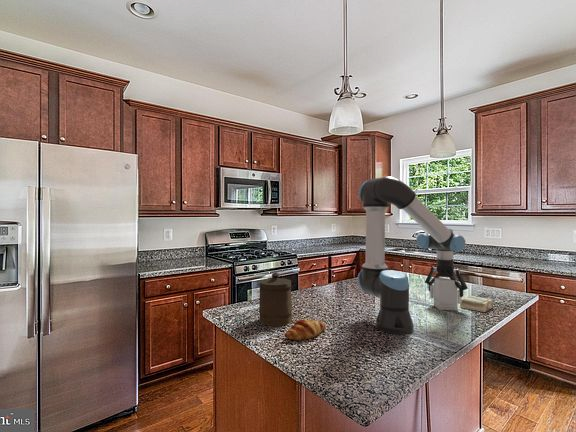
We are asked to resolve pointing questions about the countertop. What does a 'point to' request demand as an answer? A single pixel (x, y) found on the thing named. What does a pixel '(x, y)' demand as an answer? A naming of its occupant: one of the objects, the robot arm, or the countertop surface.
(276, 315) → the wooden container
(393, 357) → the countertop surface
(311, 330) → the croissant
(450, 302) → the supplement box
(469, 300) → the tan picture frame
